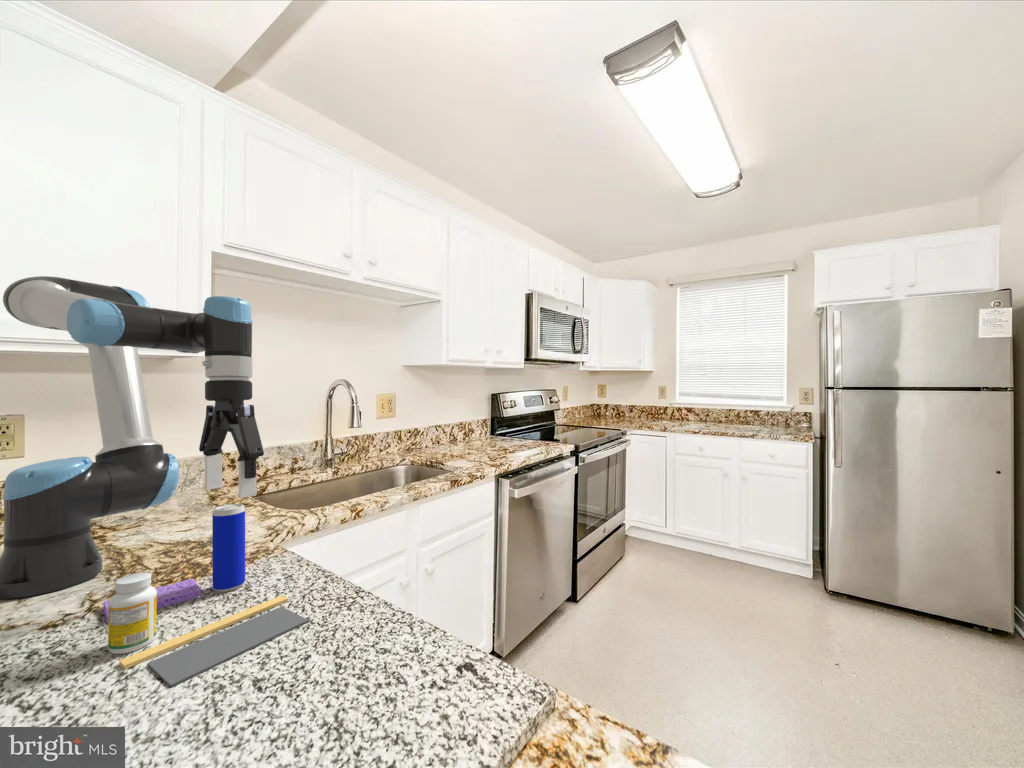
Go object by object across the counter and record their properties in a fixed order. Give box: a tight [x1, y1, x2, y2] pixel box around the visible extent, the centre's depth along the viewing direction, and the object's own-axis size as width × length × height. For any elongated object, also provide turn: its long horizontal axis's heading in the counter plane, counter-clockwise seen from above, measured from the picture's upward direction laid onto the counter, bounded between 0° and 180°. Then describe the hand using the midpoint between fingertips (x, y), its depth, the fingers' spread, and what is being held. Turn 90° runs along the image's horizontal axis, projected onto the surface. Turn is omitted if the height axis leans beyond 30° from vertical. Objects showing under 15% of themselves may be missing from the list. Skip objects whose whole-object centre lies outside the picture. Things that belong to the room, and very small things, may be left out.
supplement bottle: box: [107, 572, 158, 655], centre depth 63 cm, size 5×5×10 cm
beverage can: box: [211, 503, 246, 593], centre depth 81 cm, size 5×5×15 cm
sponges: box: [103, 578, 202, 624], centre depth 76 cm, size 7×13×2 cm, turn 135°
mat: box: [146, 606, 309, 688], centre depth 63 cm, size 8×18×1 cm, turn 146°
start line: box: [119, 594, 289, 670], centre depth 67 cm, size 2×22×1 cm, turn 146°
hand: (230, 492), depth 81 cm, fingers open, 13 cm apart
